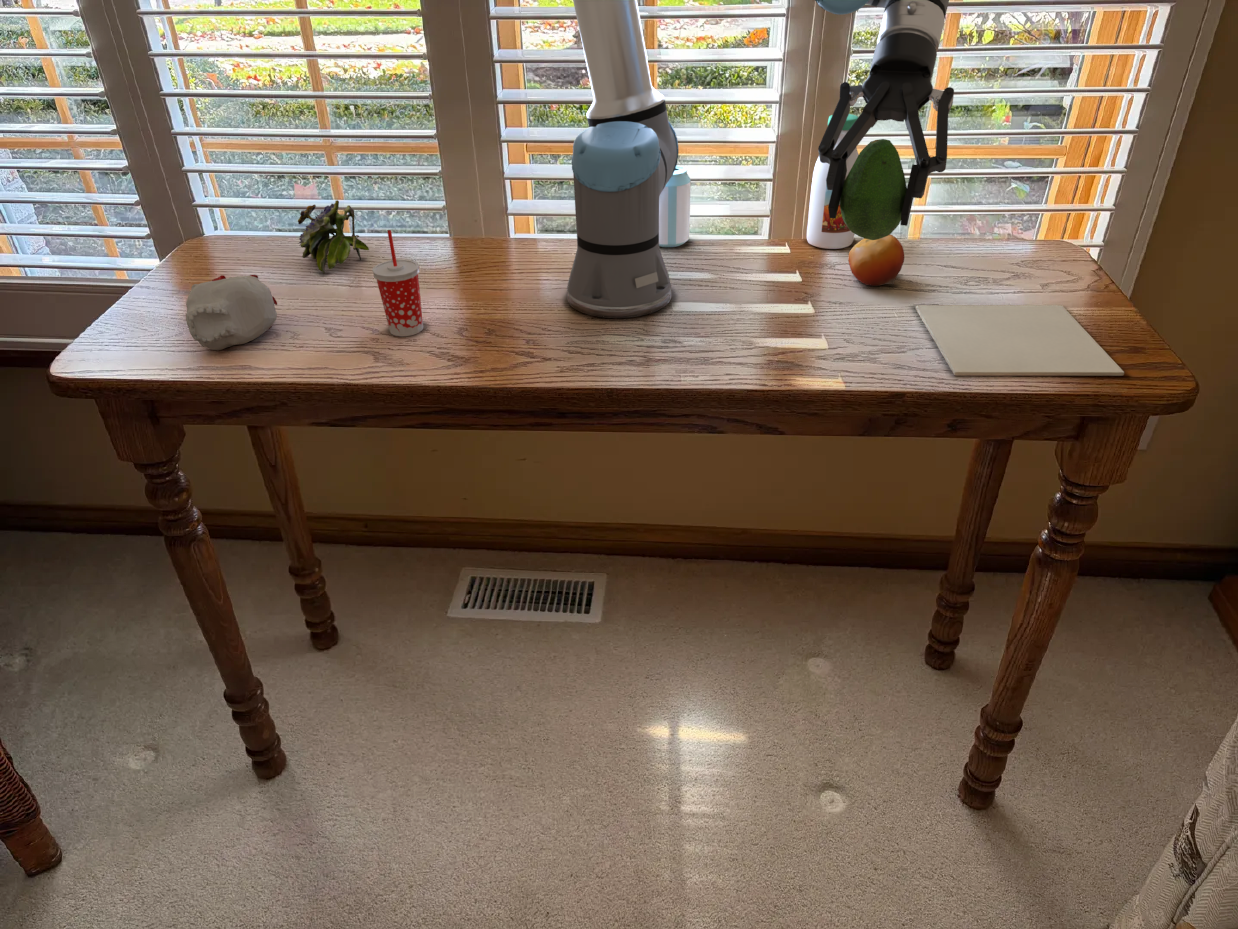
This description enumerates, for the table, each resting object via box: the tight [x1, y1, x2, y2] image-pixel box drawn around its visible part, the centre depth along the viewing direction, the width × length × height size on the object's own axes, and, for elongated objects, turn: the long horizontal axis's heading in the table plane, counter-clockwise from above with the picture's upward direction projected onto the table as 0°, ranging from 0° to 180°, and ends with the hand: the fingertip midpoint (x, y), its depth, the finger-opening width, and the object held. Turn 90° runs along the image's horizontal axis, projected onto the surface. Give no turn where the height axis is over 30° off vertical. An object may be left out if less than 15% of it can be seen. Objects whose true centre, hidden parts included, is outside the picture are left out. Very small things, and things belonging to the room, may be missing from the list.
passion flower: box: [297, 199, 370, 275], centre depth 140 cm, size 11×11×12 cm
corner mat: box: [915, 304, 1125, 377], centre depth 113 cm, size 20×20×1 cm
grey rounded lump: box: [185, 274, 278, 351], centre depth 117 cm, size 9×11×15 cm
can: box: [659, 164, 692, 248], centre depth 143 cm, size 7×7×12 cm
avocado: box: [840, 138, 908, 240], centre depth 106 cm, size 8×8×12 cm
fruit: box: [847, 234, 905, 287], centre depth 129 cm, size 8×8×8 cm
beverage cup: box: [371, 229, 424, 337], centre depth 116 cm, size 6×6×14 cm
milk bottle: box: [806, 113, 860, 250], centre depth 139 cm, size 8×8×20 cm
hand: (867, 216), depth 104 cm, fingers closed on avocado, 8 cm apart
